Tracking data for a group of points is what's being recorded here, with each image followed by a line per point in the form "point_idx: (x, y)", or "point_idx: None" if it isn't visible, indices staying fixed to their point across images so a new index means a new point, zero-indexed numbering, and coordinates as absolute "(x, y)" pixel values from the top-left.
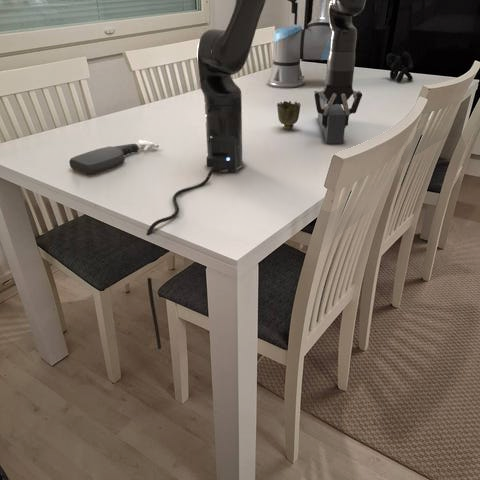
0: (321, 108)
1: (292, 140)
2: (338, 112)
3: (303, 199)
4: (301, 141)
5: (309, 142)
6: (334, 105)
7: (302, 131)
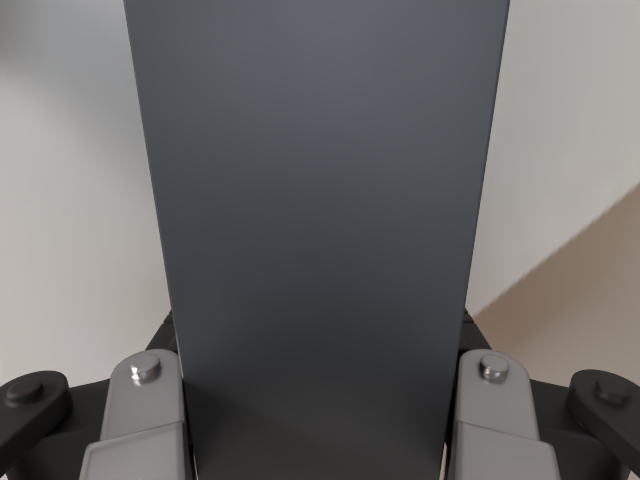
0: (66, 454)
1: (6, 253)
2: (346, 477)
3: None
4: (78, 274)
5: (140, 293)
6: (345, 68)
7: (43, 7)
